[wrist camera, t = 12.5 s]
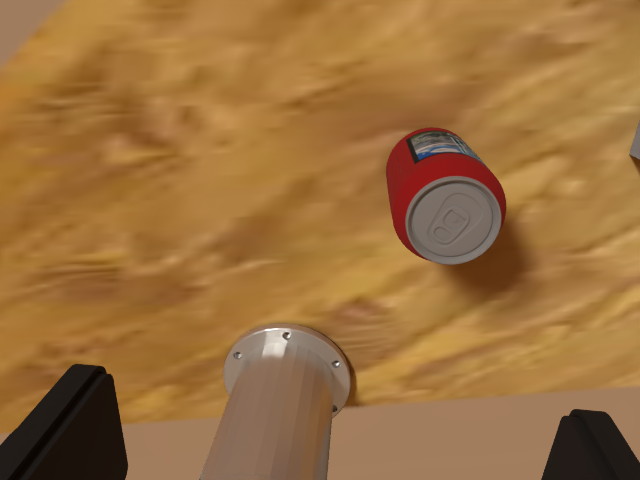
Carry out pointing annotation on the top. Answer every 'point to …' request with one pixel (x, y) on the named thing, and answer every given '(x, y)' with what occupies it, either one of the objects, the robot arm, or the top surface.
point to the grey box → (636, 144)
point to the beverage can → (443, 197)
